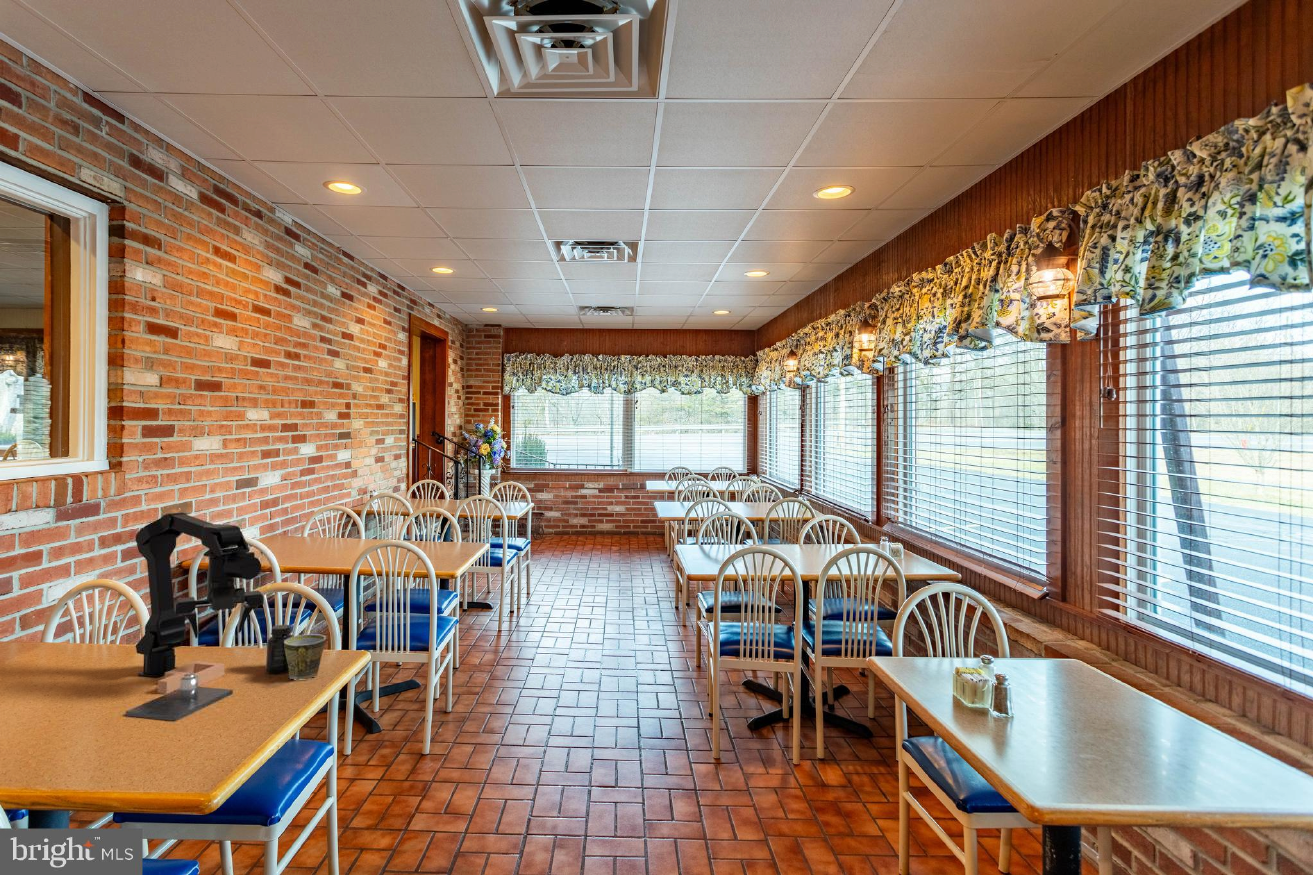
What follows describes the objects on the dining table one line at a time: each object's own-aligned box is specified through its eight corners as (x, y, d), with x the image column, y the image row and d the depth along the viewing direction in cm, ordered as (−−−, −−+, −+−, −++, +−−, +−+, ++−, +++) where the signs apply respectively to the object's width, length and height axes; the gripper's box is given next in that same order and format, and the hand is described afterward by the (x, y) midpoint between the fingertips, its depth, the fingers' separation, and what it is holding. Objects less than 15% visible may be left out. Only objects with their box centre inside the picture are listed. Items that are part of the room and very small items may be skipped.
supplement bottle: (299, 666, 179) (301, 624, 179) (283, 675, 173) (285, 631, 173) (277, 665, 180) (278, 622, 180) (259, 673, 173) (261, 629, 173)
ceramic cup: (286, 671, 175) (287, 635, 175) (327, 668, 179) (328, 632, 179) (276, 689, 163) (278, 650, 163) (320, 685, 167) (321, 646, 167)
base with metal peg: (125, 715, 145) (126, 688, 145) (186, 689, 161) (187, 664, 161) (175, 721, 144) (176, 692, 144) (232, 693, 159) (233, 668, 159)
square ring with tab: (146, 691, 159) (146, 679, 159) (194, 672, 173) (194, 661, 173) (178, 694, 158) (178, 682, 158) (224, 674, 171) (224, 663, 171)
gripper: (179, 585, 152) (175, 650, 152) (269, 577, 165) (265, 637, 165) (175, 576, 161) (172, 637, 161) (261, 569, 173) (258, 626, 173)
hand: (218, 635), depth 165 cm, fingers open, 9 cm apart
